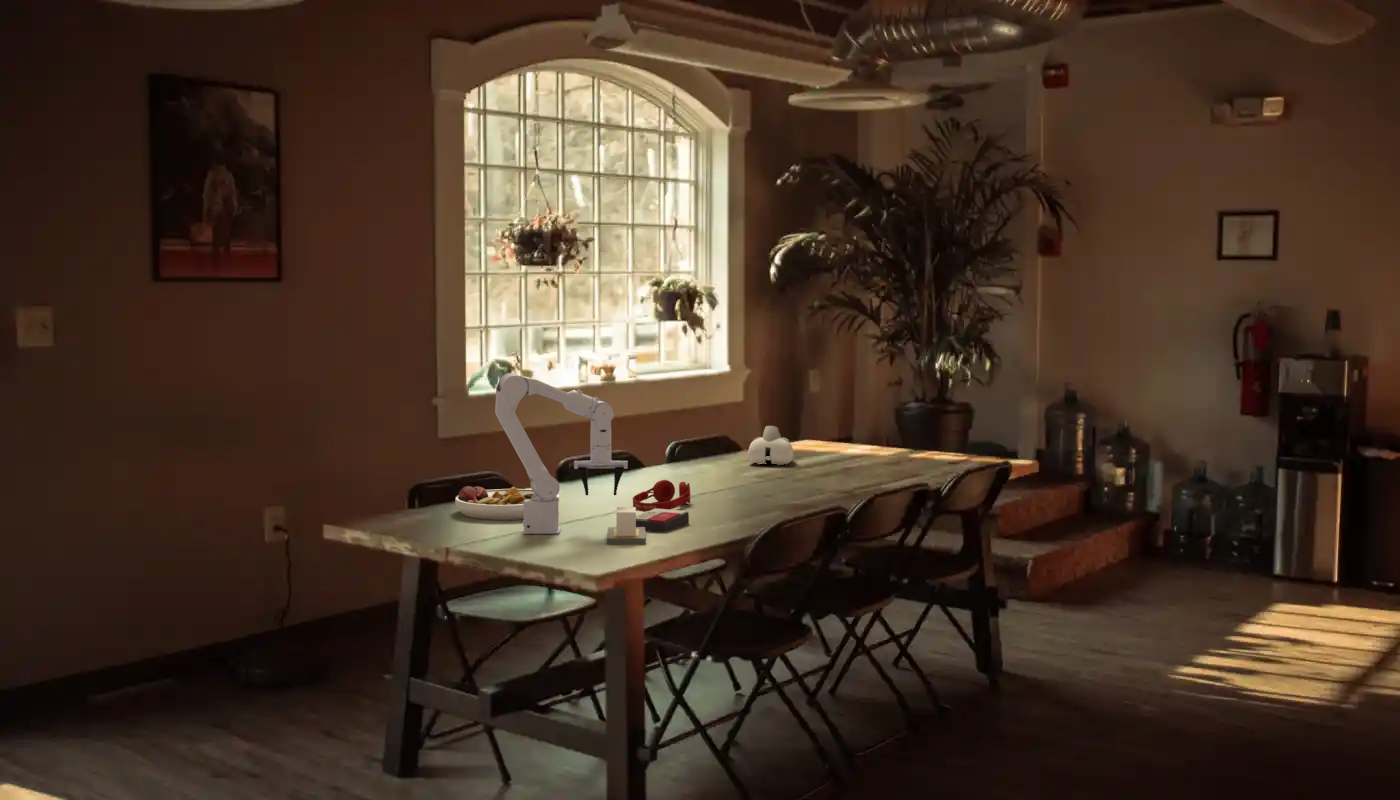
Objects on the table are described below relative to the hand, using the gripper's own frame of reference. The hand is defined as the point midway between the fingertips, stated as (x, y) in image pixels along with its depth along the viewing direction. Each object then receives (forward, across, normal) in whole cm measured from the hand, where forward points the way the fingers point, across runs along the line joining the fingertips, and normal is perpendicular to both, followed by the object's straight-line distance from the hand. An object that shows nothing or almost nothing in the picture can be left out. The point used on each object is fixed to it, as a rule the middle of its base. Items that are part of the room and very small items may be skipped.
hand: (601, 494), depth 373 cm
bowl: (+10, -28, +27) cm, 40 cm away
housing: (+8, +7, -14) cm, 18 cm away
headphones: (+10, +17, +37) cm, 42 cm away
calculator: (+10, +16, +3) cm, 19 cm away
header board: (+9, +7, -14) cm, 18 cm away
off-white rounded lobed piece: (+10, +60, +134) cm, 147 cm away
